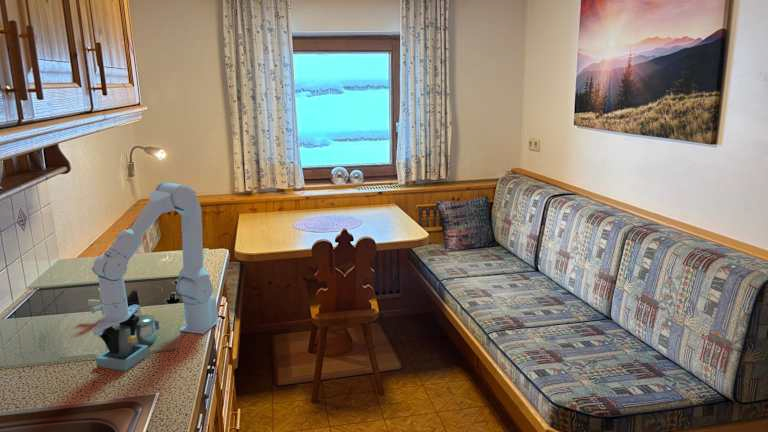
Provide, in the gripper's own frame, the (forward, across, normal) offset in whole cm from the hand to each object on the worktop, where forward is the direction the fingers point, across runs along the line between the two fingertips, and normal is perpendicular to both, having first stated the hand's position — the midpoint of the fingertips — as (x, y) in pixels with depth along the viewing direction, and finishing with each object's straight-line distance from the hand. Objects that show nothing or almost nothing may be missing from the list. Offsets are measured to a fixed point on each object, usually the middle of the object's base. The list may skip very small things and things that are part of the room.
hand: (122, 348), depth 147 cm
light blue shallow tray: (+3, 0, 0) cm, 3 cm away
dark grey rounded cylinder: (+2, 0, 0) cm, 2 cm away
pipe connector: (+4, -20, -24) cm, 31 cm away
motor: (+3, -10, -2) cm, 11 cm away
